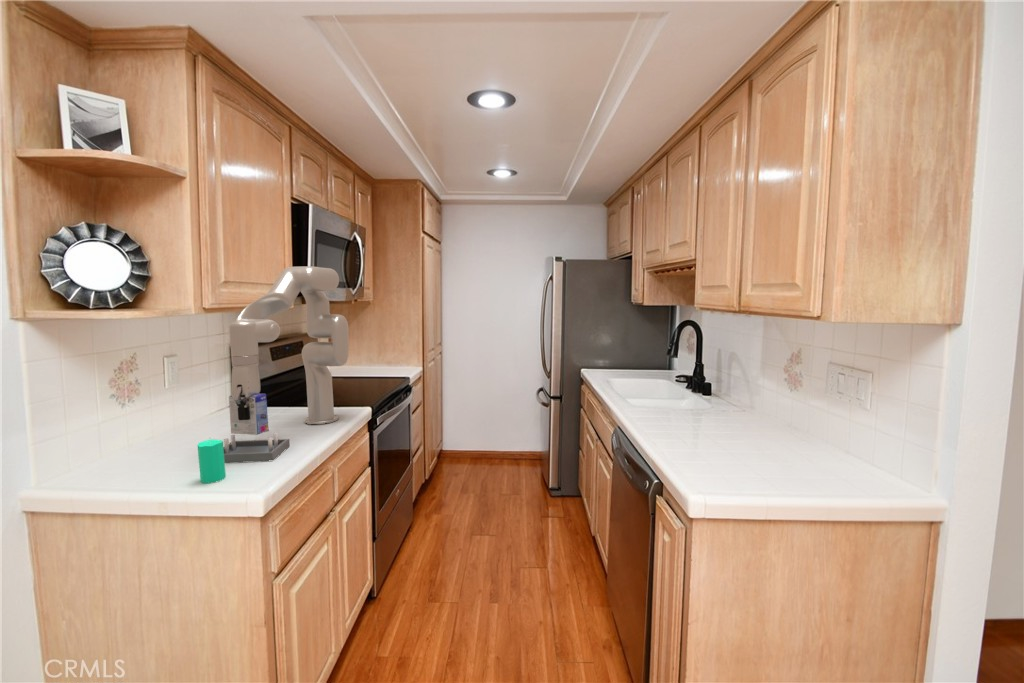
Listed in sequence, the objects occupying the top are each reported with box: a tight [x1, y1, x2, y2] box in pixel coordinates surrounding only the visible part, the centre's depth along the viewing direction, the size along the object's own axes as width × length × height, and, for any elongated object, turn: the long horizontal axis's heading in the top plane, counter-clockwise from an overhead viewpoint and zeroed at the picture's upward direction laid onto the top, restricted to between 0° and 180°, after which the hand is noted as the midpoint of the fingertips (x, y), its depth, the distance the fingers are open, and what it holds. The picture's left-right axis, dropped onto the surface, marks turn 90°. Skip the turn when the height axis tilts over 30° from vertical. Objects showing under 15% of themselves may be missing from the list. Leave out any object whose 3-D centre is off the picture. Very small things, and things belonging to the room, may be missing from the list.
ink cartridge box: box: [228, 393, 269, 436], centre depth 155 cm, size 10×6×14 cm, turn 79°
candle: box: [197, 438, 227, 484], centre depth 136 cm, size 6×6×12 cm
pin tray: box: [223, 432, 291, 464], centre depth 157 cm, size 14×18×6 cm
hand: (249, 416), depth 156 cm, fingers closed on ink cartridge box, 6 cm apart
